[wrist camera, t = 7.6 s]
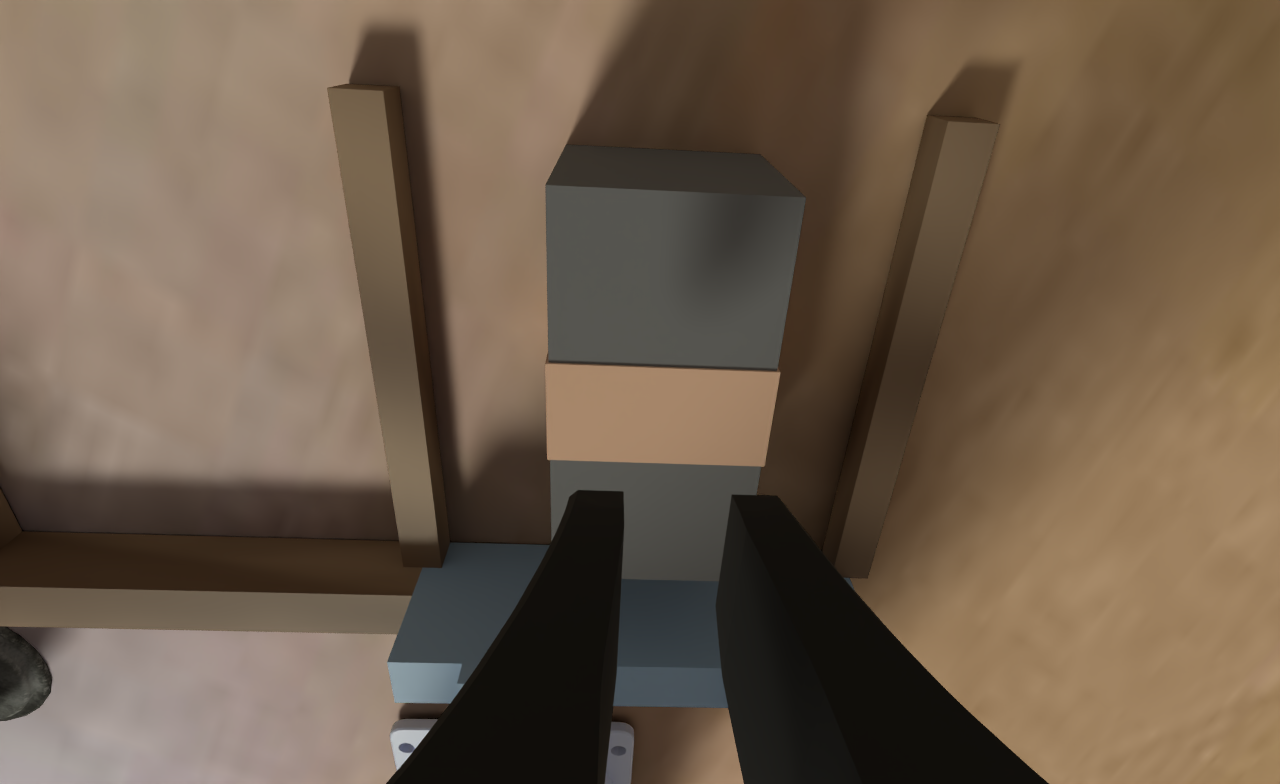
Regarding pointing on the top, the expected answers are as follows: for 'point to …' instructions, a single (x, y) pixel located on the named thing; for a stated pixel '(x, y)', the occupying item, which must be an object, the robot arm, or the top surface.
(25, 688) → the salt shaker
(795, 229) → the grey and tan block
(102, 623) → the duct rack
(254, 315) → the top surface
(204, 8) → the top surface
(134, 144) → the top surface
